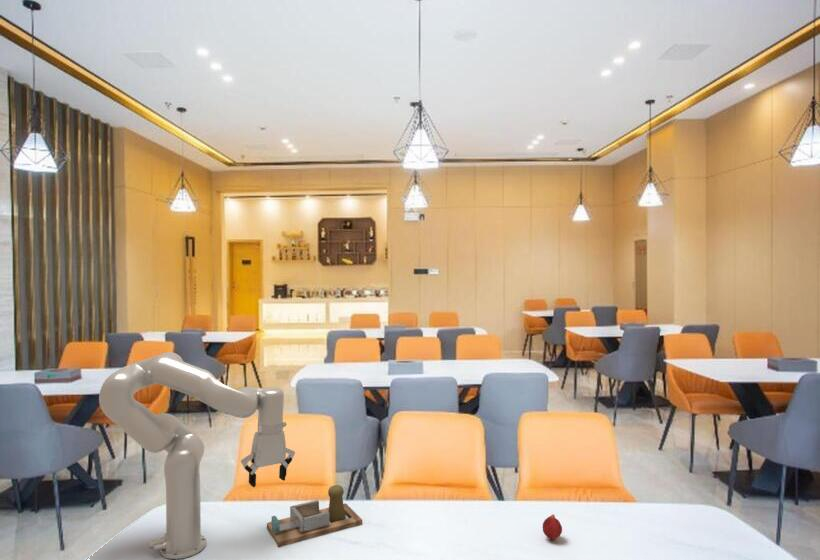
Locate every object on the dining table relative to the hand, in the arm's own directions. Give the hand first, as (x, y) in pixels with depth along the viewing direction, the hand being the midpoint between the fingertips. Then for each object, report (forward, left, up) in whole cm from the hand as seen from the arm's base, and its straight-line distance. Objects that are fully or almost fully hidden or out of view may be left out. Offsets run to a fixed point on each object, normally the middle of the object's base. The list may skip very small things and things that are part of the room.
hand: (267, 482), depth 159 cm
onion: (+76, -46, -18) cm, 91 cm away
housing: (+10, 0, -16) cm, 19 cm away
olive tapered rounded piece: (+23, 0, -17) cm, 29 cm away
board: (+15, 0, -18) cm, 23 cm away
